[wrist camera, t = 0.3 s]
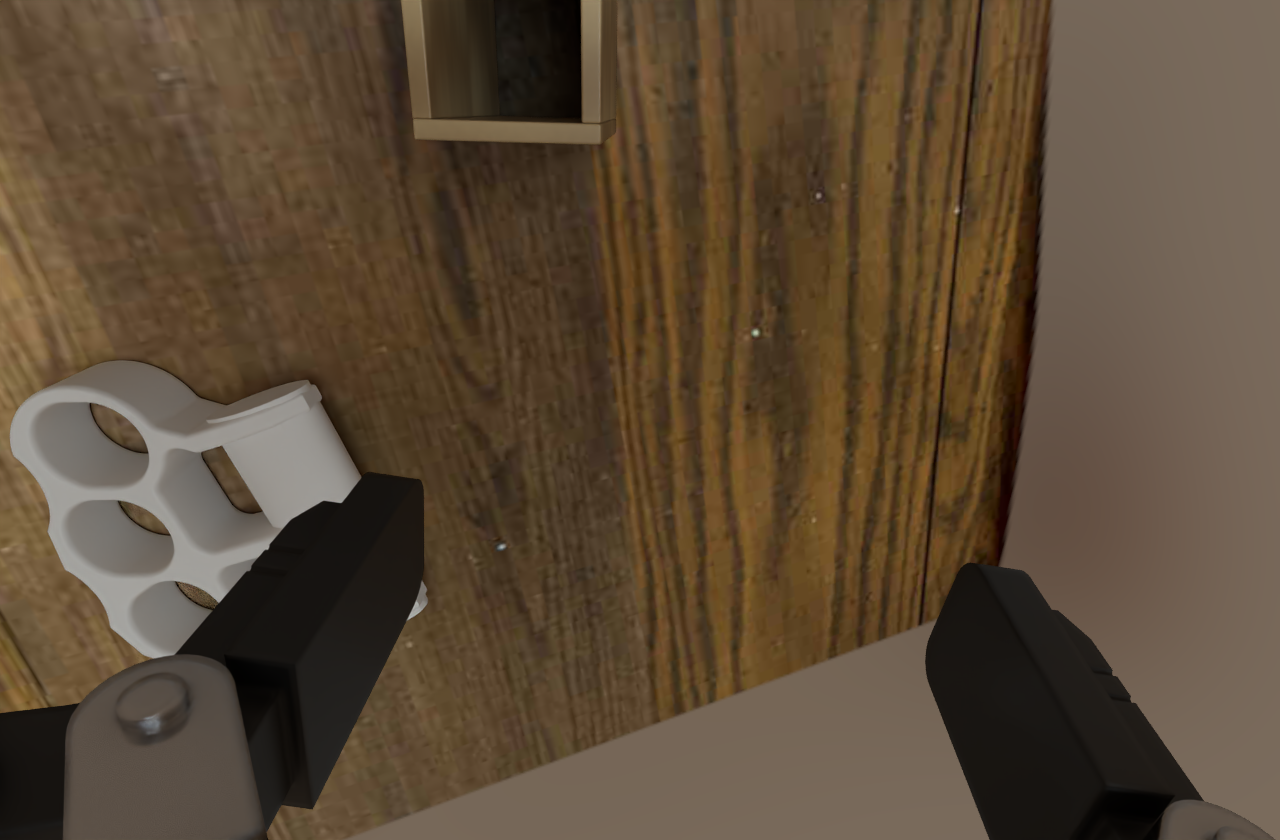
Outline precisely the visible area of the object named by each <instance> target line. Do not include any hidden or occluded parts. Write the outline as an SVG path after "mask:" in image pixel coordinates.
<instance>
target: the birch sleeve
mask: <svg viewBox="0 0 1280 840" xmlns="http://www.w3.org/2000/svg"><path fill="white" fill-rule="evenodd" d="M401 5H402V15H403V26H404V36H405V46H406V57H407V67H408V78H409V88H410V98H411V109H412V117H413V118H414V119H413V128H414V137H415V139H417V140H444V141H480V142H515V143H551V144H586V145H600V144H601V143H603V142H604V141H605V140H607V139H608V138H609V137H611V136H612V135H613V134H615V133H616V119H615V118H616V82H617V0H581V109H582V118H567V117H531V116H499V115H500V110H499V90H498V70H497V50H496V30H495V11H494V0H401Z"/></svg>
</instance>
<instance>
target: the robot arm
mask: <svg viewBox="0 0 1280 840" xmlns="http://www.w3.org/2000/svg"><path fill="white" fill-rule="evenodd" d="M423 569H424V490H423V485H422V482H421V481H420V480H419V479H413V478H406V477H399V476H393V475H386V474H379V473H372V472H368V473H366V474H364V475H363V476H362V478H361V479H360V480H359V481H358V483H357V484H356V485H355V487H354V488H353V489H352V490H351V492H350V493H349V494H348V496H347V497H346V498H345V499H344V501H343V502H342V503H337V502H330V501H322V502H320V503H318V504H317V505H315V506H313V507H312V508H310V509H308V510H306V511H305V512H303V513H301V514H300V515H298V516H296V517H294V518H293V519H291V520H290V521H289V522H288V523H287V525H286V526H285V527H284V528H283V529H282V530H281V532H280V533H279V534H278V535H277V536H276V537H275V539H274V540H273V541H272V542H271V543H270V544H269V549H268V550H264V551H263V552H262V554H261V555H260V556H259V557H258V558H257V559H256V561H255V562H254V563H253V564H252V565H251V570H250V571H246V572H245V573H244V575H243V576H242V577H241V578H240V579H239V580H238V582H237V583H236V584H235V585H234V586H233V587H232V588H231V590H230V591H229V592H228V593H227V594H226V595H225V597H224V598H223V599H222V600H221V601H220V602H219V604H218V605H217V606H216V607H215V608H214V609H213V611H212V612H211V613H210V614H209V615H208V616H207V618H206V619H205V620H204V621H203V622H202V623H201V625H200V626H199V627H198V628H197V629H196V630H195V631H194V633H193V634H192V635H191V636H190V637H189V638H188V640H187V641H186V642H185V643H184V644H183V645H182V647H181V648H180V649H179V650H178V651H177V652H176V653H175V654H174V655H170V656H163V657H159V658H155V659H150V660H147V661H144V662H141V663H138V664H136V665H133V666H131V667H129V668H127V669H124V670H122V671H121V672H119V673H117V674H115V675H113V676H112V677H110V678H108V679H107V680H106V681H104V682H103V683H101V684H100V685H98V686H97V687H96V688H95V689H94V690H93V691H91V692H90V693H89V694H88V695H87V696H86V697H85V698H84V699H83V701H82V702H81V703H78V704H72V705H65V706H57V707H48V708H40V709H31V710H23V711H15V712H6V713H0V840H268V838H267V833H266V832H267V830H268V829H269V827H270V825H271V823H272V821H273V819H274V817H275V816H276V814H277V812H278V810H279V808H280V806H281V805H286V806H293V807H300V808H307V809H313V807H314V805H315V803H316V801H317V799H318V797H319V795H320V793H321V791H322V789H323V787H324V785H325V783H326V781H327V779H328V777H329V775H330V773H331V771H332V769H333V767H334V765H335V763H336V761H337V759H338V757H339V755H340V753H341V751H342V749H343V747H344V745H345V743H346V741H347V739H348V737H349V735H350V733H351V731H352V729H353V727H354V725H355V723H356V721H357V719H358V717H359V715H360V713H361V711H362V709H363V707H364V705H365V703H366V701H367V699H368V697H369V695H370V693H371V691H372V689H373V687H374V685H375V683H376V681H377V679H378V677H379V675H380V673H381V671H382V669H383V667H384V665H385V663H386V661H387V659H388V657H389V655H390V653H391V651H392V649H393V647H394V645H395V643H396V641H397V639H398V637H399V635H400V633H401V631H402V629H403V627H404V625H405V623H406V621H407V619H408V617H409V615H410V613H411V611H412V609H413V607H414V605H415V602H416V600H417V597H418V594H419V590H420V586H421V582H422V577H423ZM925 664H926V674H927V679H928V682H929V685H930V688H931V690H932V693H933V696H934V698H935V701H936V703H937V705H938V708H939V711H940V713H941V716H942V719H943V721H944V724H945V726H946V729H947V731H948V734H949V737H950V739H951V742H952V744H953V747H954V749H955V752H956V755H957V757H958V759H959V762H960V765H961V767H962V770H963V773H964V775H965V777H966V780H967V783H968V785H969V788H970V790H971V793H972V796H973V798H974V801H975V803H976V805H977V808H978V811H979V813H980V816H981V819H982V821H983V824H984V826H985V829H986V832H987V834H988V837H989V839H990V840H1275V839H1274V838H1273V837H1271V836H1270V835H1269V834H1268V833H1266V832H1265V831H1263V830H1262V829H1260V828H1259V827H1258V826H1256V825H1255V824H1253V823H1251V822H1250V821H1248V820H1247V819H1245V818H1243V817H1241V816H1239V815H1237V814H1236V813H1234V812H1232V811H1229V810H1227V809H1225V808H1223V807H1220V806H1218V805H1214V804H1211V803H1208V802H1204V800H1203V799H1202V797H1201V796H1200V795H1199V793H1198V792H1197V790H1196V789H1195V787H1194V786H1193V785H1192V783H1191V782H1190V780H1189V779H1188V778H1187V776H1186V775H1185V773H1184V772H1183V771H1182V769H1181V767H1180V766H1179V765H1178V763H1177V762H1176V760H1175V759H1174V757H1173V756H1172V754H1171V753H1170V752H1169V750H1168V749H1167V747H1166V746H1165V745H1164V743H1163V742H1162V740H1161V739H1160V737H1159V736H1158V734H1157V733H1156V732H1155V730H1154V729H1153V727H1152V726H1151V724H1150V723H1149V722H1148V720H1147V719H1146V717H1145V716H1144V714H1143V713H1142V712H1141V710H1140V709H1139V707H1138V706H1137V704H1136V703H1131V701H1130V697H1131V696H1130V695H1129V693H1128V692H1127V690H1126V689H1125V687H1124V686H1123V684H1122V683H1121V682H1120V680H1119V679H1118V677H1116V676H1113V675H1112V669H1111V667H1110V666H1109V664H1108V663H1107V662H1106V660H1105V659H1104V657H1103V656H1102V654H1101V653H1100V652H1099V650H1098V649H1097V647H1096V646H1095V644H1094V643H1093V642H1092V640H1091V639H1090V638H1089V637H1088V636H1087V635H1085V634H1084V633H1083V632H1082V631H1081V630H1080V629H1079V628H1077V627H1076V626H1075V625H1074V624H1073V623H1072V622H1070V621H1069V620H1068V619H1067V618H1066V617H1065V616H1064V615H1063V614H1061V613H1060V612H1059V611H1057V610H1051V608H1050V606H1049V605H1048V603H1047V602H1046V600H1045V599H1044V598H1043V596H1042V594H1041V593H1040V591H1039V590H1038V588H1037V587H1036V585H1035V584H1034V582H1033V581H1032V579H1031V578H1030V577H1029V575H1028V574H1026V573H1025V572H1024V571H1022V570H1015V569H1010V568H1003V567H996V566H989V565H983V564H976V563H967V564H965V565H964V566H963V567H962V568H961V569H960V570H959V572H958V574H957V576H956V578H955V580H954V583H953V585H952V587H951V590H950V592H949V594H948V596H947V599H946V601H945V603H944V605H943V608H942V610H941V612H940V615H939V617H938V619H937V621H936V624H935V626H934V628H933V631H932V633H931V635H930V638H929V640H928V644H927V649H926V660H925Z"/></svg>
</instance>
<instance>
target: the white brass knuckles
mask: <svg viewBox="0 0 1280 840" xmlns="http://www.w3.org/2000/svg"><path fill="white" fill-rule="evenodd" d="M321 399H322V396H321V394H320V392H319V390H318V388H317V387H316V385H311V384H310V382H309V381H308V380H301V381H295V382H291V383H287V384H283V385H280V386H277V387H273V388H270V389H268V390H265V391H262V392H259V393H256V394H254V395H251V396H249V397H246V398H244V399H241V400H239V401H236V402H234V403H232V404H230V405H223V404H220V403H216V402H212V401H209V400H205V399H202V398H200V397H198V396H197V395H196V394H195V393H194V392H193V391H192V390H191V389H190V388H189V387H188V386H186V385H185V384H184V383H183V382H181V381H180V380H179V379H177V378H176V377H174V376H173V375H171V374H169V373H168V372H166V371H164V370H162V369H159V368H157V367H154V366H152V365H149V364H145V363H141V362H136V361H128V360H116V361H108V362H103V363H100V364H97V365H94V366H92V367H89V368H87V369H85V370H83V371H81V372H79V373H77V374H74V375H72V376H70V377H68V378H66V379H64V380H61V381H59V382H57V383H55V384H53V385H51V386H49V387H46V388H44V389H42V390H40V391H38V392H36V393H35V394H33V395H31V396H30V397H29V398H28V399H26V400H25V401H24V402H23V403H22V404H21V406H20V407H19V408H18V410H17V411H16V413H15V415H14V418H13V420H12V424H11V429H10V444H11V450H12V453H13V456H14V457H15V458H17V459H18V460H19V461H20V462H21V463H22V464H23V465H24V466H25V467H26V468H27V469H28V470H29V471H30V472H31V473H32V475H33V476H34V477H35V479H36V480H37V481H38V483H39V484H40V486H41V488H42V490H43V492H44V494H45V496H46V499H47V502H48V506H49V511H50V523H49V528H48V534H49V536H50V538H51V540H52V542H53V545H54V547H55V549H56V551H57V553H58V555H59V558H60V560H61V562H62V564H63V566H64V569H65V570H67V571H68V572H70V573H72V574H73V575H75V576H76V577H77V578H79V579H80V580H81V581H83V582H84V583H85V584H86V585H87V586H88V587H89V588H90V589H91V590H92V591H93V592H94V593H95V594H96V595H97V597H98V598H99V599H100V601H101V602H102V604H103V606H104V608H105V610H106V612H107V615H108V618H109V622H110V627H111V628H112V629H113V630H114V631H115V632H117V633H118V634H119V635H120V636H121V637H123V638H124V639H125V640H126V641H127V642H128V643H130V644H131V645H132V646H133V647H134V648H136V649H137V650H138V651H139V652H140V653H142V654H143V655H145V656H148V657H151V658H154V659H155V658H159V657H163V656H170V655H174V654H175V653H176V652H177V651H178V650H179V649H180V648H181V647H182V645H183V644H184V643H185V642H186V641H187V640H188V638H189V637H190V636H191V635H192V634H193V633H194V631H195V630H196V629H197V628H198V627H199V626H200V625H201V623H202V622H203V621H204V620H205V619H206V618H207V616H208V615H209V614H210V613H211V612H212V611H213V610H210V609H207V608H204V607H201V606H199V605H197V604H195V603H194V602H192V601H191V600H189V599H188V598H187V597H186V596H185V595H184V594H183V593H182V592H181V591H180V589H179V588H178V586H177V585H176V583H175V581H179V582H184V583H188V584H191V585H194V586H196V587H198V588H200V589H202V590H204V591H205V592H207V593H208V594H210V595H211V596H212V597H213V598H214V599H215V600H216V601H217V602H218V603H219V602H220V601H221V600H222V599H223V598H224V597H225V595H226V594H227V593H228V592H229V591H230V590H231V588H232V587H233V586H234V585H235V584H236V583H237V582H238V580H239V579H240V578H241V577H242V576H243V575H244V573H245V572H246V571H250V570H251V565H252V564H253V563H254V562H255V561H256V559H257V558H258V557H259V556H260V555H261V554H262V552H263V551H264V550H268V549H269V544H270V543H271V542H272V541H273V540H274V539H275V537H276V536H277V535H278V534H279V533H280V532H281V530H282V529H283V528H284V527H285V526H286V525H287V523H288V522H289V521H290V520H291V519H293V518H294V517H296V516H298V515H300V514H301V513H303V512H305V511H306V510H308V509H310V508H312V507H313V506H315V505H317V504H318V503H320V502H322V501H330V502H337V503H342V502H343V501H344V499H345V498H346V497H347V496H348V494H349V493H350V492H351V490H352V489H353V488H354V487H355V485H356V484H357V483H358V481H359V480H360V479H361V478H362V477H361V475H360V474H359V472H358V470H357V468H356V466H355V464H354V463H353V461H352V459H351V457H350V455H349V453H348V452H347V450H346V448H345V446H344V444H343V442H342V441H341V439H340V437H339V435H338V433H337V432H336V430H335V428H334V426H333V424H332V422H331V421H330V419H329V417H328V415H327V413H326V411H325V410H324V408H323V406H322V404H321V402H320V401H321ZM90 403H96V404H100V405H103V406H106V407H108V408H111V409H113V410H115V411H116V412H118V413H120V414H121V415H123V416H124V417H125V418H127V419H128V420H129V421H130V422H131V423H132V424H133V425H134V426H135V427H136V428H137V429H138V431H139V432H140V434H141V435H142V437H143V439H144V441H145V443H146V445H147V448H148V453H149V454H146V453H137V452H133V451H130V450H127V449H125V448H123V447H121V446H119V445H117V444H116V443H114V442H113V441H111V440H110V439H109V438H108V437H107V436H106V435H105V434H104V433H103V432H102V431H101V430H100V429H99V427H98V426H97V424H96V423H95V421H94V419H93V416H92V414H91V410H90ZM219 446H223V448H224V450H225V451H226V453H227V454H228V456H229V458H230V459H231V461H232V462H233V464H234V466H235V467H236V469H237V470H238V472H239V474H240V475H241V477H242V478H243V480H244V482H245V483H246V485H247V486H248V488H249V490H250V491H251V493H252V494H253V496H254V498H255V499H256V501H257V502H258V504H259V506H260V507H261V509H262V510H263V511H262V512H259V513H255V514H248V513H244V512H241V511H239V510H238V509H236V508H235V507H234V506H233V505H232V504H231V503H230V501H229V499H228V498H227V496H226V495H225V493H224V492H223V490H222V489H221V487H220V485H219V484H218V482H217V481H216V479H215V478H214V476H213V475H212V473H211V471H210V470H209V468H208V467H207V465H206V464H205V462H204V461H203V459H202V455H201V452H203V451H206V450H209V449H212V448H215V447H219ZM118 500H120V501H126V502H130V503H133V504H136V505H138V506H140V507H142V508H144V509H146V510H148V511H149V512H151V513H152V514H153V515H155V516H156V517H157V518H158V519H159V520H160V521H161V522H162V523H163V524H164V525H165V527H166V528H167V530H168V531H169V533H170V535H171V536H166V535H160V534H156V533H152V532H150V531H147V530H145V529H143V528H142V527H140V526H138V525H137V524H136V523H134V522H133V521H132V520H131V519H130V518H129V517H128V516H127V515H126V514H125V513H124V511H123V510H122V508H121V507H120V505H119V502H118ZM426 591H427V588H426V587H425V585H424V583H423V581H422V582H421V586H420V590H419V594H418V597H417V600H416V602H415V605H414V607H413V609H412V611H411V613H410V615H409V617H408V619H410V618H412V617H414V616H415V615H417V614H418V613H419V612H421V611H422V610H423V609H424V607H425V606H426V604H427V602H428V598H427V596H426ZM408 619H407V620H408Z"/></svg>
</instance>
